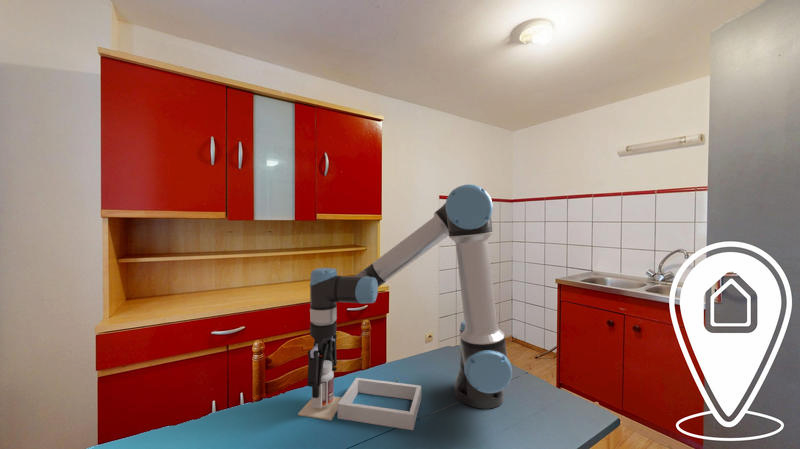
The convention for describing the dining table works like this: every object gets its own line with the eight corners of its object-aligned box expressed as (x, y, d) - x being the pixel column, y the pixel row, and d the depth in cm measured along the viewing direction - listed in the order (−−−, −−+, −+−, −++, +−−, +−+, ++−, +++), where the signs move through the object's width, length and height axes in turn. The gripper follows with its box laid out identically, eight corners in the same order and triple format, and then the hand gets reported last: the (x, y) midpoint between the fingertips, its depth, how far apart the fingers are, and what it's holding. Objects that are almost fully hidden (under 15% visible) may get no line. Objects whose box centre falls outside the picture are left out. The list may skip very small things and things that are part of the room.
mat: (345, 399, 91) (345, 398, 91) (330, 420, 81) (330, 418, 81) (315, 395, 93) (315, 393, 93) (297, 415, 83) (297, 413, 83)
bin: (421, 398, 91) (421, 385, 91) (413, 430, 77) (413, 415, 77) (356, 390, 96) (356, 377, 96) (337, 418, 82) (337, 403, 82)
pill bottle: (329, 394, 91) (329, 357, 91) (336, 404, 86) (337, 365, 86) (309, 400, 88) (309, 362, 88) (315, 411, 83) (316, 370, 83)
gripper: (326, 311, 97) (326, 381, 97) (293, 331, 78) (292, 419, 78) (348, 312, 96) (347, 384, 96) (319, 334, 77) (318, 423, 77)
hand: (322, 399), depth 87 cm, fingers open, 6 cm apart
